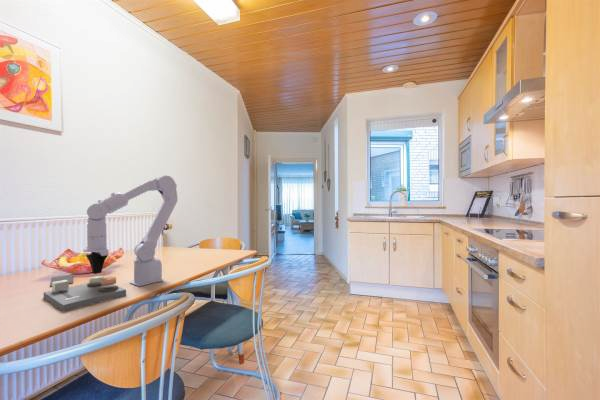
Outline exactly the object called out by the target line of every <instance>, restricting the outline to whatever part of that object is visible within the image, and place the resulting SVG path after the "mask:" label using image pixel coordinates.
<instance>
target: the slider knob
mask: <svg viewBox="0 0 600 400" xmlns="http://www.w3.org/2000/svg"><path fill="white" fill-rule="evenodd" d="M69 285H70V284H69V281H67V280H61V281H56V282H52V287H51V291H53V292H54V293H56V292H61V291H66V290H69V287H70V286H69Z"/></svg>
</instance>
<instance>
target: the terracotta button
mask: <svg viewBox="0 0 600 400" xmlns="http://www.w3.org/2000/svg"><path fill="white" fill-rule="evenodd" d="M116 284H117V277H116V276H109V277H104V278H103V279H101V286H108V285H116Z"/></svg>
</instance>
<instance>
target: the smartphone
mask: <svg viewBox="0 0 600 400" xmlns="http://www.w3.org/2000/svg"><path fill="white" fill-rule="evenodd" d="M61 280H67V281H69V285H73V284H74V274H68V275H67V274H66V275H59V276H53V277H51V280H50V283H49V288H52V282H56V281H61Z"/></svg>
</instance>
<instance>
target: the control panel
mask: <svg viewBox="0 0 600 400" xmlns="http://www.w3.org/2000/svg"><path fill="white" fill-rule="evenodd" d="M124 296H127V289H126V288H123V287H121V286H118V285H116V284H113V285H108V286H101V283H100V284H89V282H85V283H82V284H76V285H73V286H71V285H70V286H69V290H66V291H61V292H56V293H54V292H53V291H52V290H49V291H44V292H43V299H44V300H45V301H47V302H48V303H50V304H51V305H52V306H54V307H55V308H57V309H58V310H60V311H61V312H63V313H65V312H68V311H71V310H76V309H78V308H84V307H87V306H90V305H94V304H99V303H102V302H105V301H110V300H114V299H117V298H122V297H124Z"/></svg>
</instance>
